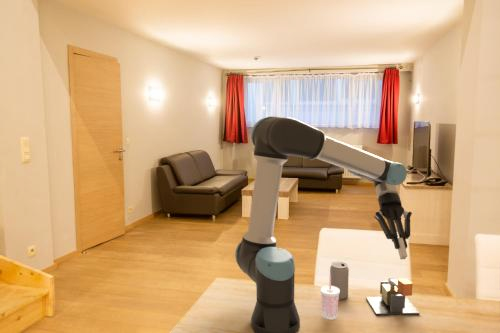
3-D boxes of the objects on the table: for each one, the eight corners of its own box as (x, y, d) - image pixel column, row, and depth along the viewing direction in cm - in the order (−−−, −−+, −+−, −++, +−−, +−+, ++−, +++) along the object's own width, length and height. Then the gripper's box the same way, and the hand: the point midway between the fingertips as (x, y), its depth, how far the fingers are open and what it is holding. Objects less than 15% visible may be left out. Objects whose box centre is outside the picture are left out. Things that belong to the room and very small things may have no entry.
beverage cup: (323, 321, 121) (324, 279, 119) (317, 311, 127) (318, 271, 125) (342, 319, 122) (343, 278, 120) (335, 310, 128) (335, 270, 126)
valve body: (376, 315, 124) (377, 292, 123) (366, 299, 135) (366, 278, 134) (419, 315, 124) (420, 292, 123) (405, 298, 135) (406, 277, 134)
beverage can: (349, 300, 135) (350, 268, 133) (331, 300, 135) (332, 268, 133) (345, 292, 141) (346, 260, 139) (328, 292, 141) (328, 260, 139)
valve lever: (386, 282, 130) (386, 270, 129) (394, 281, 130) (395, 269, 130) (403, 297, 120) (403, 284, 119) (411, 296, 120) (412, 283, 119)
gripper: (402, 202, 144) (419, 262, 130) (368, 202, 144) (381, 262, 130) (409, 191, 138) (427, 252, 124) (372, 191, 138) (387, 253, 124)
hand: (403, 257), depth 127 cm, fingers closed
